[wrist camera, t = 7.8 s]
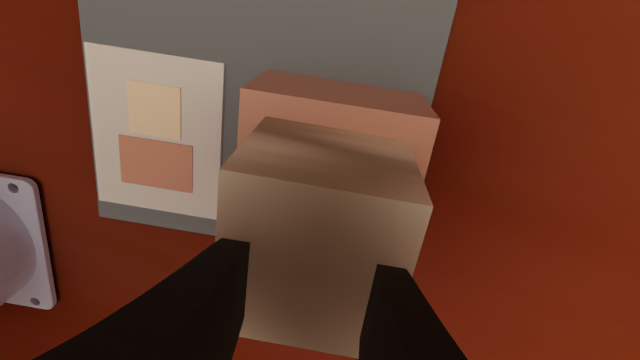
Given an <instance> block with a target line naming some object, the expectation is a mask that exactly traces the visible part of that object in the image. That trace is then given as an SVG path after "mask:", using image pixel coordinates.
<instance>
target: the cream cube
mask: <svg viewBox="0 0 640 360" xmlns="http://www.w3.org/2000/svg"><path fill="white" fill-rule="evenodd" d="M432 210H433V204H432V202H431V199H430V196H429V194H428V191H427V188H426V186H425V183H424V180H423V178H422V175H421V173H420V170H419V167H418V165H417V162H416V159H415V157H414V154H413V151H412V149H411V146H410V143H409V141H408V140H402V139H396V138H390V137H384V136H378V135H372V134H367V133H361V132H355V131H349V130H343V129H337V128H332V127H326V126H320V125H314V124H308V123H302V122H297V121H291V120H285V119H279V118H273V117H267V116H265V117H264V119H263V120H262V121H261V122H260V123H259V124H258V125H257V126H256V128H255V129H254V130H253V131H252V132H251V133H250V134H249V136H248V137H247V138H246V139H245V140H244V141H243V142H242V144H241V145H240V146H239V147H238V148H237V149H236V150H235V151H234V153H233V154H232V155H231V156H230V157H229V158H228V159H227V161H226V162H225V163H224V164H223V165H222V166H221V167H220V169H219V179H218V198H217V218H216V238H215V242H216V241H218V240H219V239H221V238H227V239H233V240H239V241H245V242H250V251H249V264H248V277H247V290H246V303H245V315H244V320H243V324H242V327H241V330H240V334H239V337H243V338H249V339H254V340H260V341H265V342H270V343H276V344H281V345H287V346H292V347H297V348H303V349H308V350H314V351H319V352H325V353H330V354H335V355H341V356H346V357H352V358H357V359H359V341H360V334H361V330H362V326H363V321H364V317H365V313H366V309H367V305H368V300H369V296H370V292H371V288H372V283H373V279H374V275H375V271H376V266H377V264H381V265H387V266H393V267H399V268H405V269H407V270H408V272H409V273H410V275H411V276H413V273H414V270H415V266H416V263H417V260H418V256H419V253H420V250H421V246H422V243H423V240H424V236H425V233H426V230H427V226H428V223H429V220H430V216H431V213H432Z"/></svg>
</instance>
